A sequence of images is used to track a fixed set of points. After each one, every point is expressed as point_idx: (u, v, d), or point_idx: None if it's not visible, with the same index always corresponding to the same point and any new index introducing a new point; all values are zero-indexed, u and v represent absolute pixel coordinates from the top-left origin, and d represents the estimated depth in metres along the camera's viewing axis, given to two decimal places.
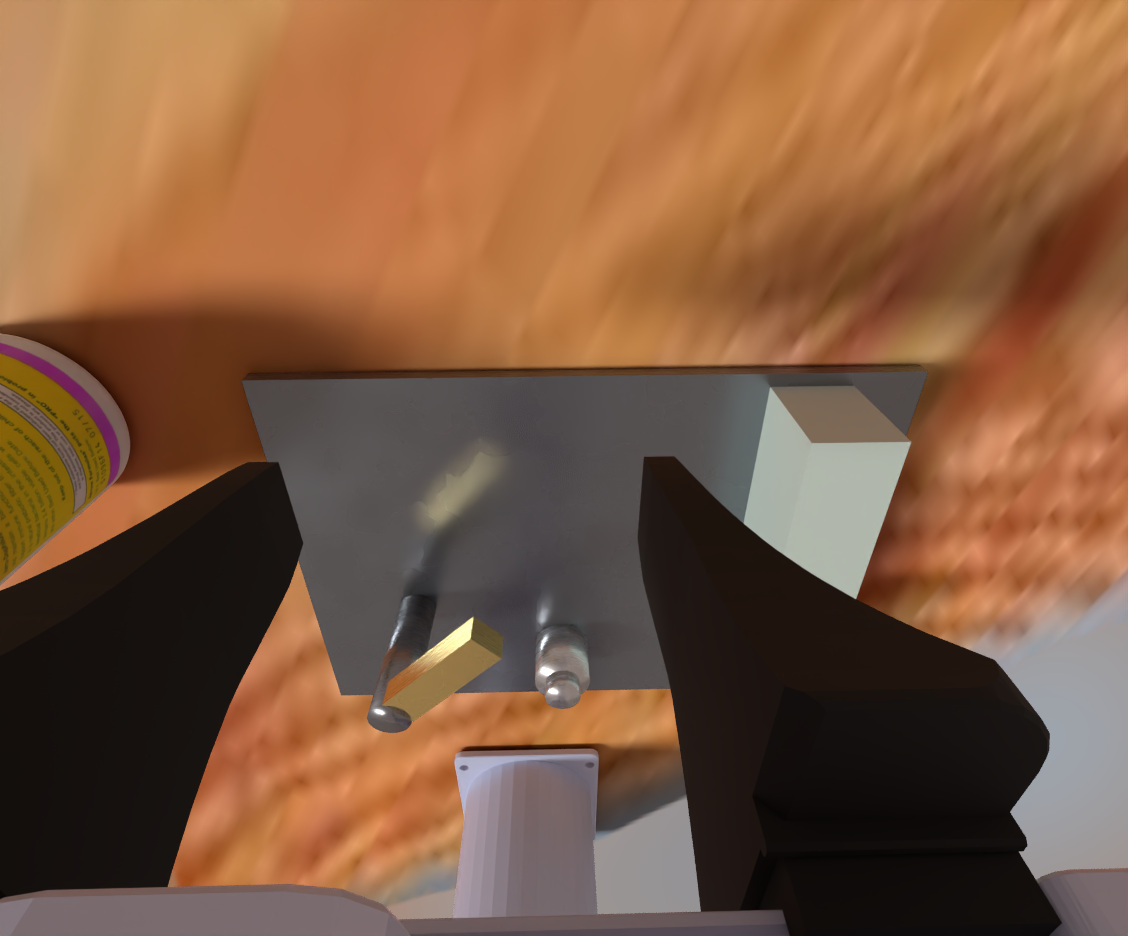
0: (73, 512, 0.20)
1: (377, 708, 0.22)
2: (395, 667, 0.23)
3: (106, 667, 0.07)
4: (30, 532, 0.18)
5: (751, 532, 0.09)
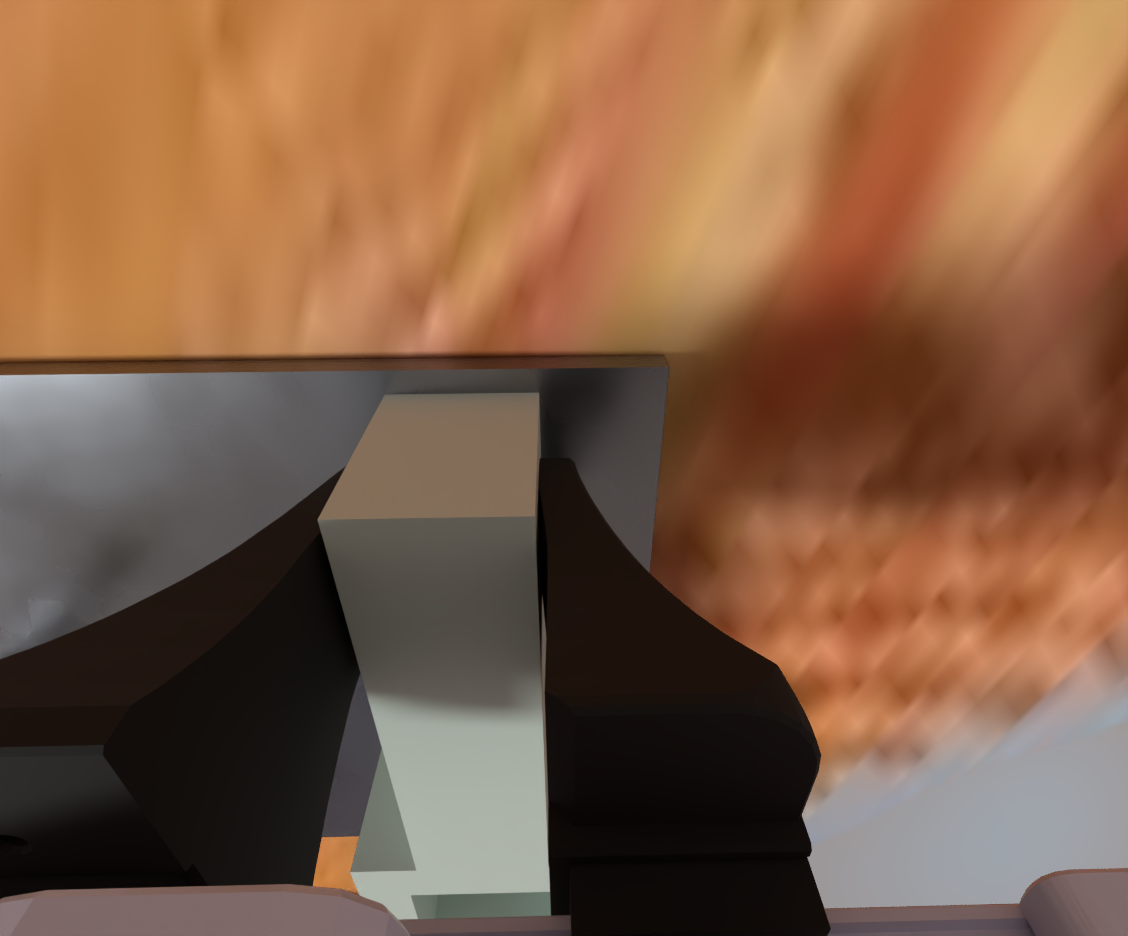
0: None
1: None
2: None
3: (273, 664, 0.07)
4: None
5: (610, 534, 0.09)
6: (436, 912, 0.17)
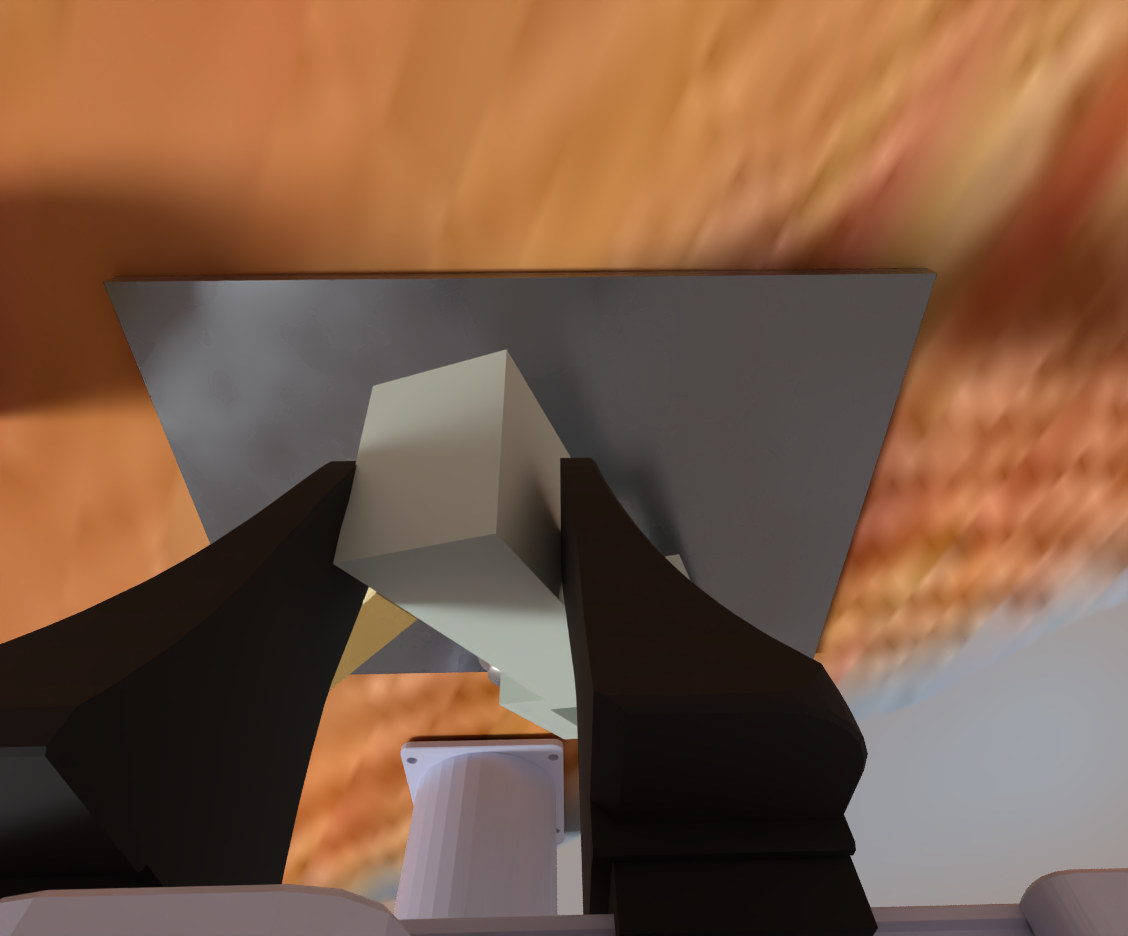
0: None
1: None
2: None
3: (237, 664, 0.07)
4: None
5: (639, 534, 0.09)
6: None
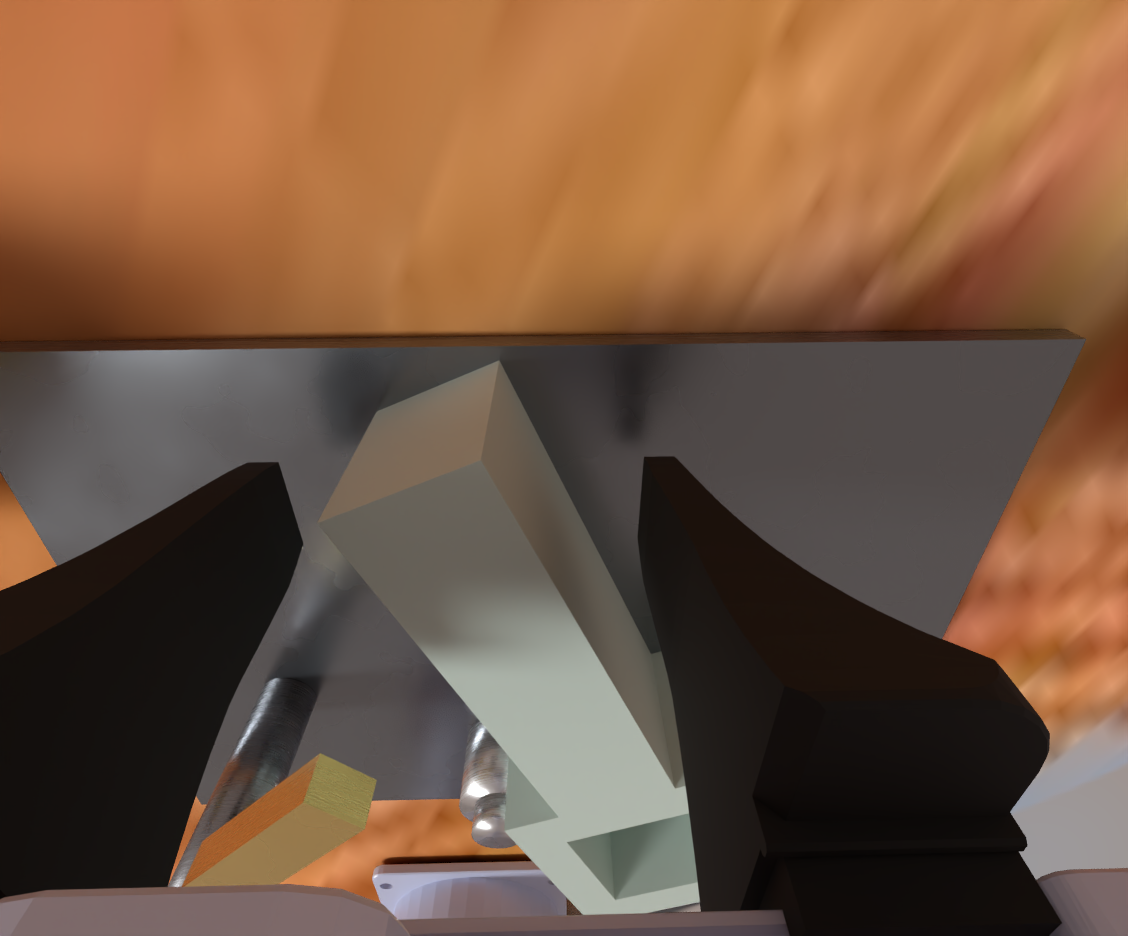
0: None
1: None
2: (221, 811, 0.15)
3: (106, 667, 0.07)
4: None
5: (751, 532, 0.09)
6: (613, 860, 0.18)
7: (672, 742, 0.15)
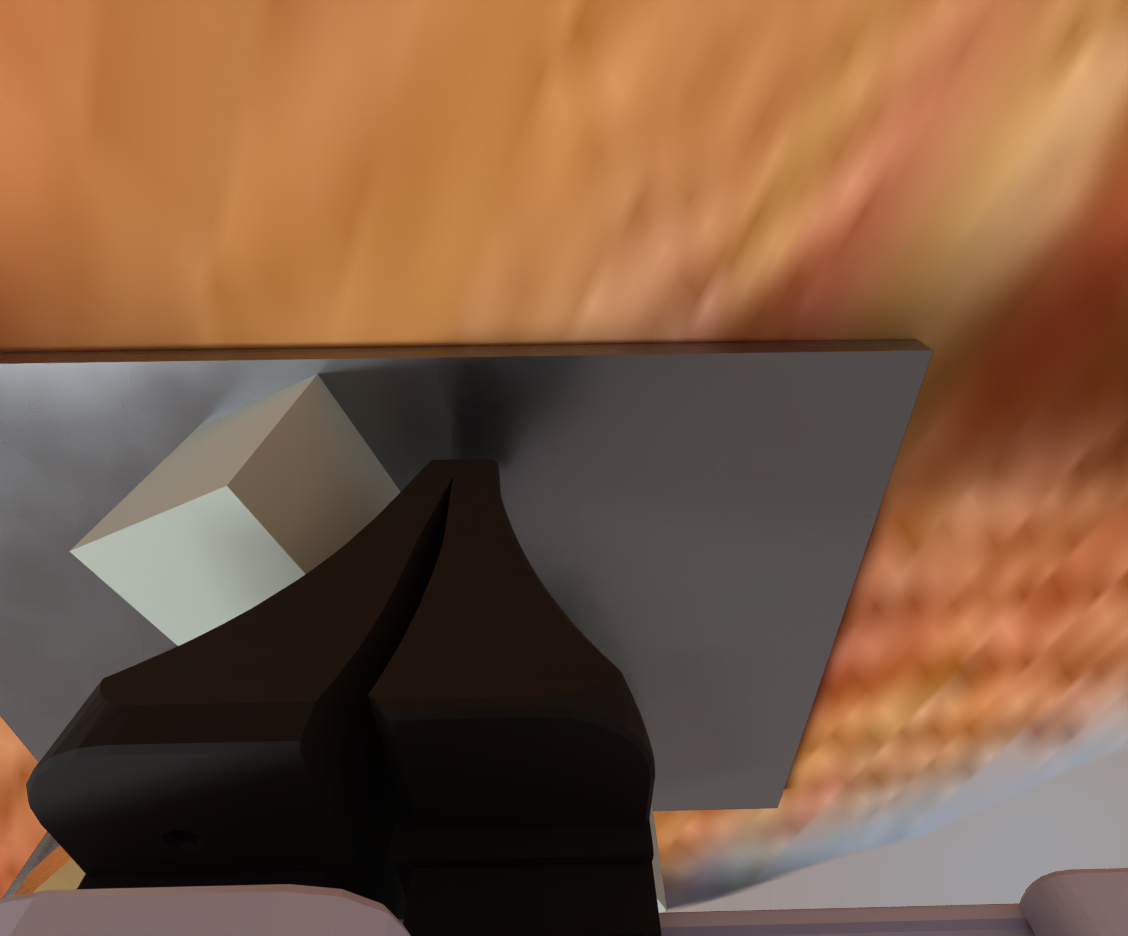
0: None
1: None
2: (55, 842, 0.14)
3: None
4: None
5: (507, 536, 0.09)
6: None
7: None
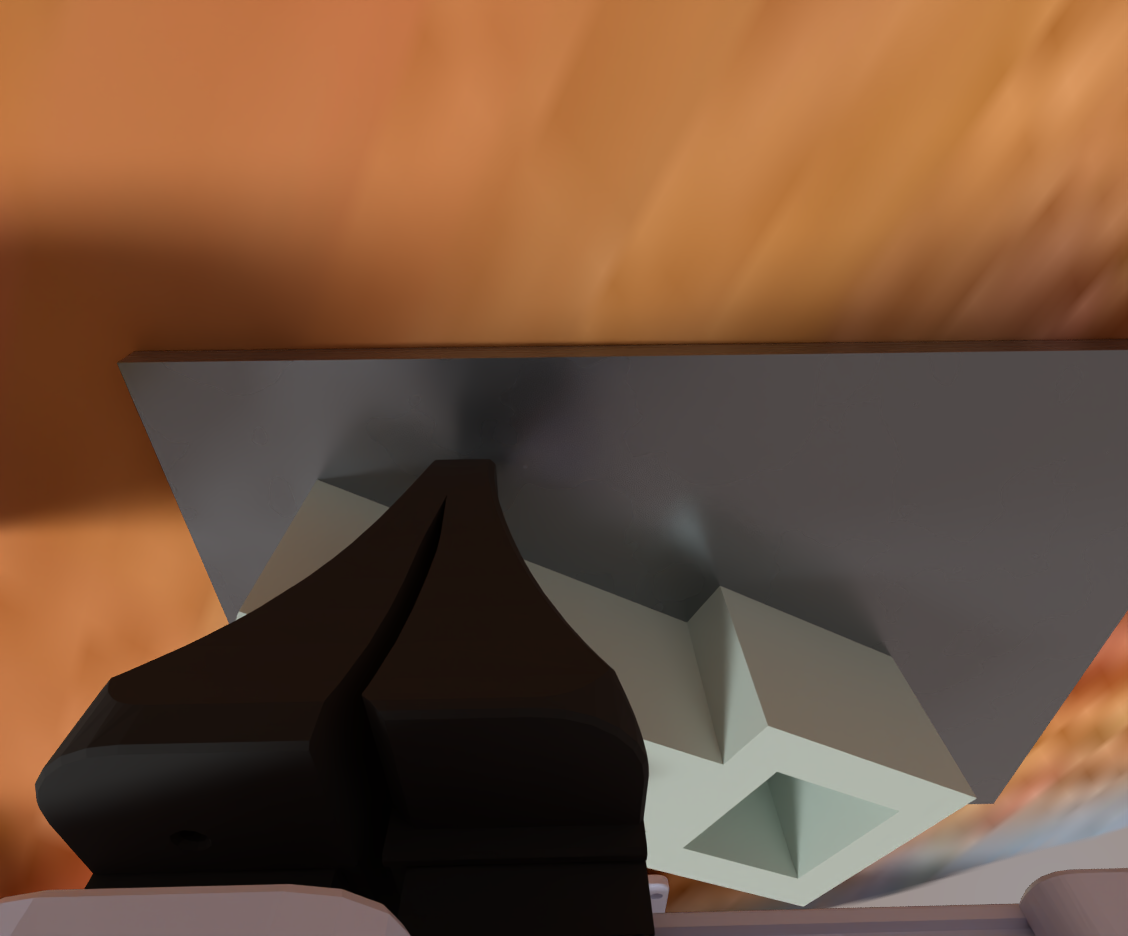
0: None
1: None
2: None
3: None
4: None
5: (504, 536, 0.09)
6: (785, 836, 0.16)
7: (714, 713, 0.14)
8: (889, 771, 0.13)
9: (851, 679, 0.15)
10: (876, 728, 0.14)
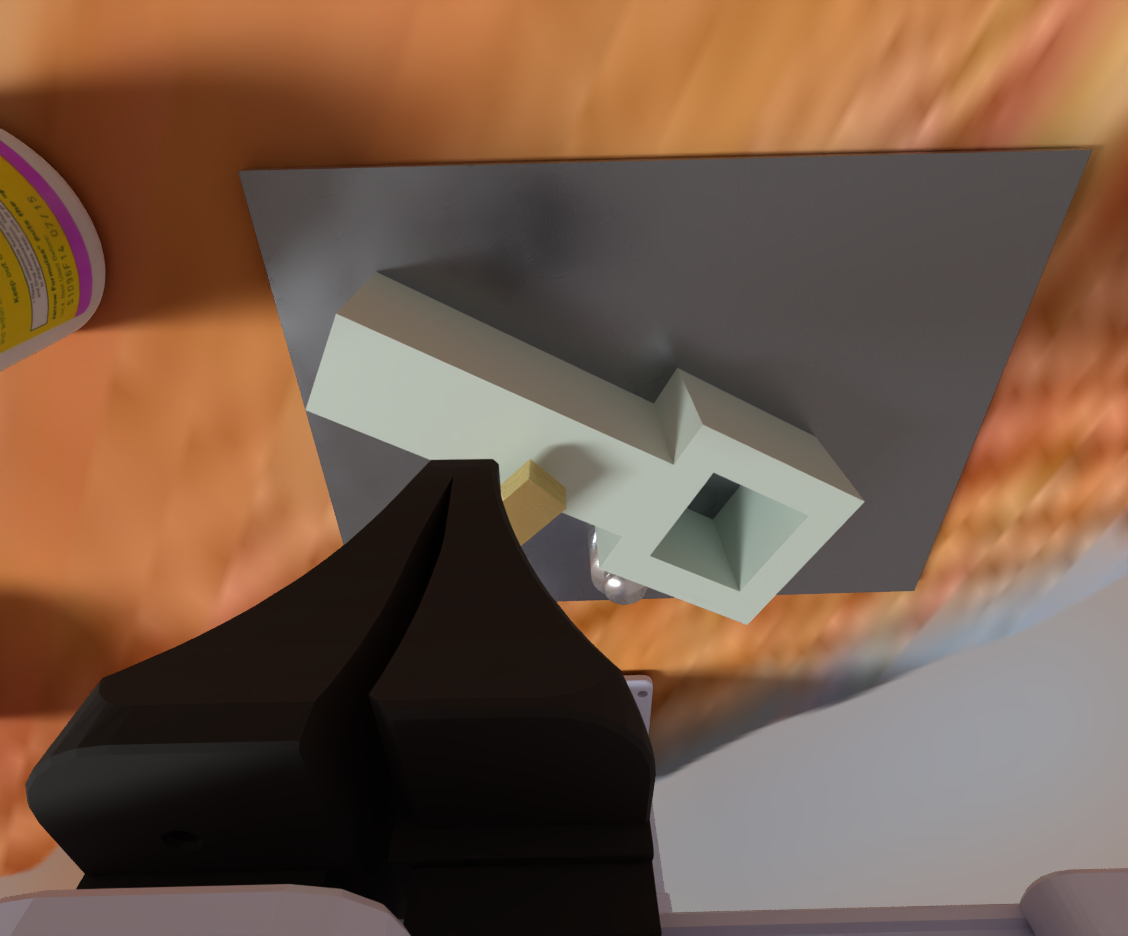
0: (31, 329, 0.16)
1: None
2: None
3: None
4: None
5: (508, 536, 0.09)
6: (732, 570, 0.21)
7: (669, 441, 0.18)
8: (796, 473, 0.18)
9: (776, 432, 0.20)
10: (790, 453, 0.19)
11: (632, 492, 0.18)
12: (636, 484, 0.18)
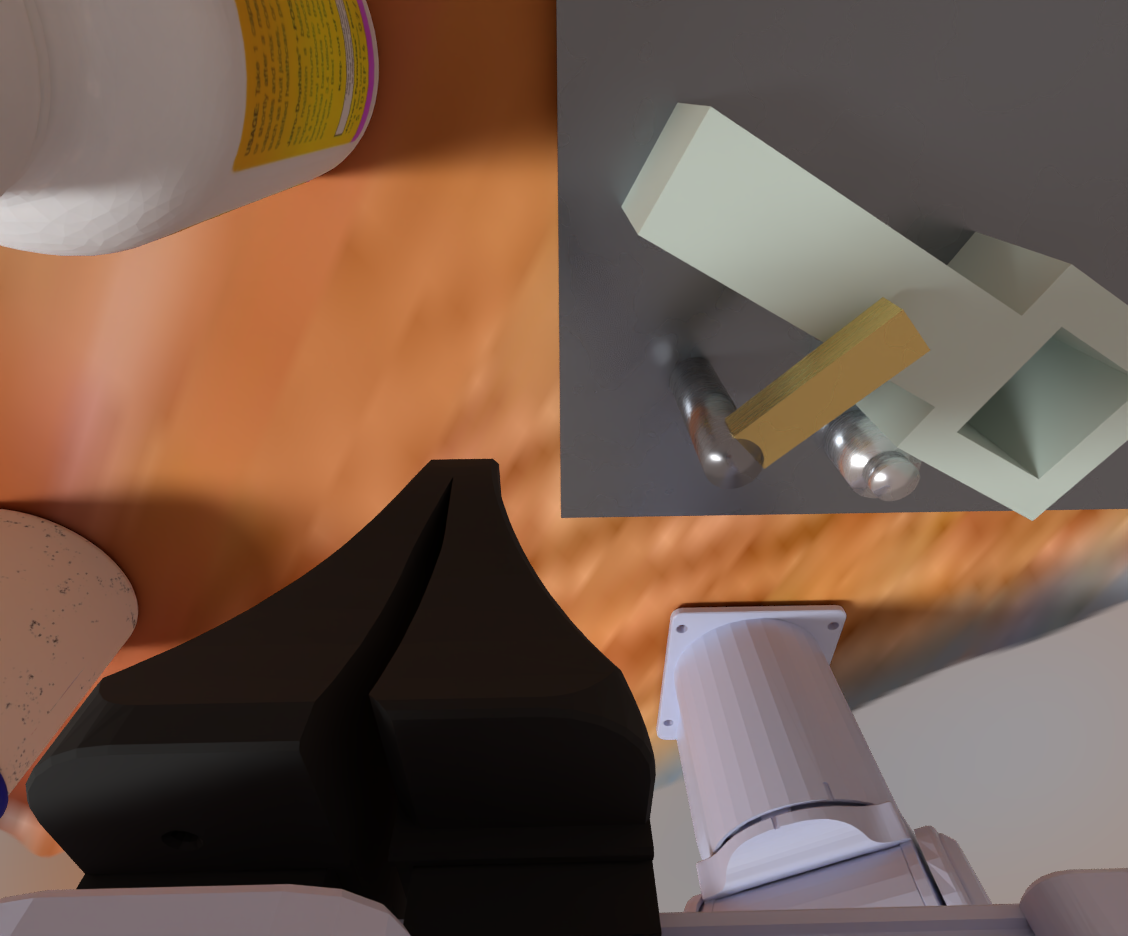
0: (335, 134, 0.14)
1: (724, 443, 0.16)
2: (721, 409, 0.17)
3: None
4: (316, 100, 0.12)
5: (508, 536, 0.09)
6: (1018, 460, 0.19)
7: (998, 297, 0.17)
8: None
9: None
10: None
11: (965, 350, 0.16)
12: (972, 340, 0.16)
